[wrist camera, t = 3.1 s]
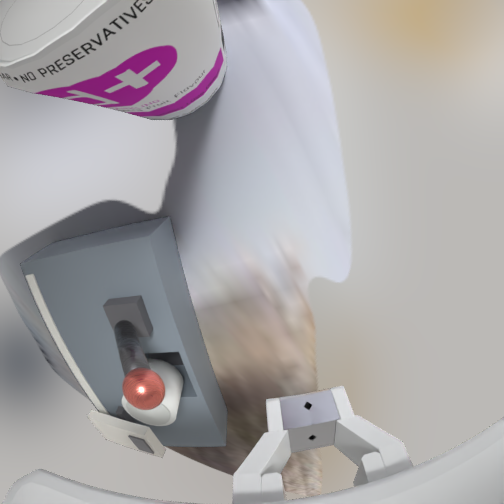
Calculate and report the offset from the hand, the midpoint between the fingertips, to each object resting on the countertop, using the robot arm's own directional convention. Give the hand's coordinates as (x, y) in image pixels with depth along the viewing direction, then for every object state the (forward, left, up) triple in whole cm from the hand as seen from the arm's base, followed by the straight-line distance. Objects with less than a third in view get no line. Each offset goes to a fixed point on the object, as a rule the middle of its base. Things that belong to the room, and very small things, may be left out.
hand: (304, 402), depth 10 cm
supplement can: (-16, -5, -13) cm, 22 cm away
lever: (0, -10, -7) cm, 12 cm away
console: (+6, -13, -13) cm, 19 cm away
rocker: (+12, -16, -6) cm, 20 cm away
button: (+6, -10, -8) cm, 14 cm away
